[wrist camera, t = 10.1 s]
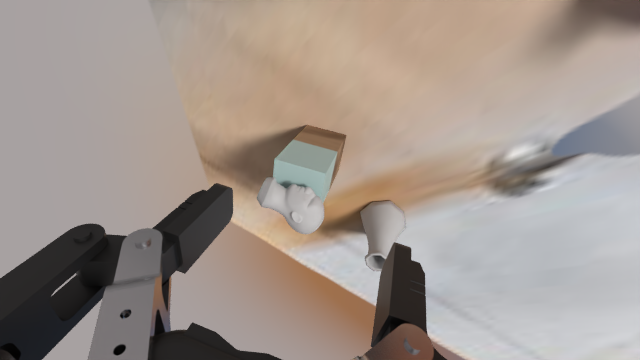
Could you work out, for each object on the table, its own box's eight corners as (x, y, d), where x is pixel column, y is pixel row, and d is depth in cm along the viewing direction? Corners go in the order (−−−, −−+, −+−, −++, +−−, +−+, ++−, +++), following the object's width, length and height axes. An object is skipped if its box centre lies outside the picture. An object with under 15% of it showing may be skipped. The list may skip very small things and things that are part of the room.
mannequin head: (336, 200, 33) (310, 230, 35) (281, 158, 32) (257, 191, 34) (335, 214, 29) (306, 248, 30) (273, 167, 28) (245, 204, 29)
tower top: (293, 139, 36) (274, 159, 31) (337, 151, 35) (325, 173, 30) (288, 178, 39) (270, 201, 34) (328, 190, 39) (317, 215, 34)
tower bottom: (307, 124, 41) (293, 139, 36) (346, 135, 40) (337, 151, 35) (301, 160, 44) (288, 178, 39) (338, 170, 44) (329, 190, 39)
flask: (352, 208, 46) (340, 249, 38) (393, 193, 43) (389, 235, 35) (373, 240, 48) (366, 286, 40) (414, 228, 45) (415, 276, 37)
